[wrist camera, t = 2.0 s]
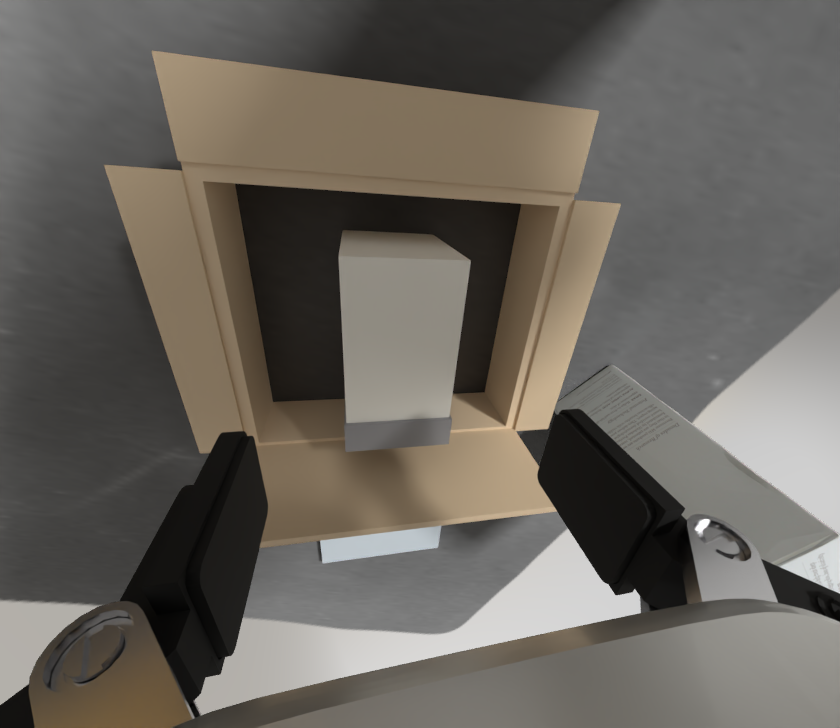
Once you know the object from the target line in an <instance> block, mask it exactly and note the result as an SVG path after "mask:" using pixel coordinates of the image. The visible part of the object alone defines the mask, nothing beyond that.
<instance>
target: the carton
mask: <svg viewBox="0 0 840 728" xmlns="http://www.w3.org/2000/svg"><path fill="white" fill-rule="evenodd" d="M152 55H153V59H154V63H155V67H156V72H157V76H158V80H159V84H160V88H161V92H162V97H163V101H164V105H165V109H166V113H167V117H168V122H169V126H170V130H171V134H172V138H173V142H174V147H175V151H176V155H177V159H178V161H180V162H181V166H182V170H183V171H181V170H168V169H155V168H142V167H128V166H115V165H104V167H105V170H106V173H107V176H108V179H109V182H110V185H111V188H112V191H113V194H114V197H115V200H116V203H117V206H118V209H119V212H120V215H121V218H122V221H123V224H124V227H125V230H126V233H127V236H128V239H129V242H130V245H131V248H132V251H133V254H134V257H135V260H136V263H137V266H138V269H139V272H140V275H141V278H142V281H143V284H144V287H145V290H146V293H147V296H148V299H149V302H150V305H151V308H152V311H153V314H154V317H155V320H156V323H157V326H158V329H159V332H160V335H161V338H162V341H163V344H164V347H165V350H166V353H167V356H168V359H169V362H170V365H171V368H172V371H173V374H174V377H175V380H176V383H177V386H178V389H179V392H180V395H181V398H182V401H183V404H184V407H185V410H186V413H187V416H188V419H189V422H190V425H191V428H192V431H193V434H194V437H195V440H196V443H197V446H198V449H199V452H200V454H201V453H210V452H211V450H212V448H213V446H214V444H215V442H216V440H217V439H218V437H219V435H220V434H221V433H222V432H236V431H245V432H246V433H247V436H253V437H254V440H255V444H256V449H257V454H258V458H259V463H260V468H261V472H262V477H263V482H264V487H265V491H266V496H267V501H268V514H267V519H266V523H265V527H264V531H263V535H262V539H261V543H260V548H265V547H273V546H281V545H289V544H297V543H305V542H313V541H321V540H329V539H337V538H345V537H354V536H362V535H370V534H378V533H386V532H394V531H402V530H410V529H418V528H426V527H434V526H442V525H450V524H459V523H467V522H475V521H483V520H491V519H499V518H507V517H515V516H523V515H531V514H539V513H547V512H556V511H557V510H556V509H555V507H554V506H553V504H552V503H551V501H550V499H549V498H548V496H547V495H546V493H545V492H544V490H543V489H542V487H541V486H540V484H539V482H538V477H537V474H538V470H539V466H538V464H537V463H536V461H535V460H534V458H533V457H532V455H531V454H530V452H529V451H528V449H527V448H526V446H525V445H524V443H523V441H522V440H521V438H520V437H519V435H518V434H517V432H516V431H526V430H540V429H548V428H549V424H550V421H551V418H552V415H553V412H554V409H555V406H556V403H557V400H558V397H559V394H560V391H561V387H562V384H563V381H564V378H565V375H566V372H567V369H568V366H569V363H570V360H571V357H572V354H573V350H574V347H575V344H576V341H577V338H578V335H579V332H580V329H581V326H582V323H583V320H584V317H585V313H586V310H587V307H588V304H589V301H590V298H591V295H592V292H593V289H594V286H595V283H596V279H597V276H598V273H599V270H600V267H601V264H602V261H603V258H604V255H605V252H606V249H607V246H608V242H609V239H610V236H611V233H612V230H613V227H614V224H615V221H616V218H617V215H618V212H619V209H620V205H621V204H618V203H606V202H592V201H579V200H573V199H574V195H575V193H578V190H579V186H580V182H581V179H582V175H583V171H584V167H585V163H586V160H587V156H588V152H589V148H590V144H591V141H592V137H593V133H594V129H595V125H596V122H597V118H598V114H599V111H595V110H588V109H580V108H573V107H566V106H558V105H551V104H543V103H536V102H529V101H521V100H514V99H506V98H499V97H492V96H484V95H477V94H469V93H462V92H454V91H447V90H440V89H432V88H425V87H417V86H410V85H403V84H395V83H388V82H380V81H373V80H366V79H358V78H351V77H343V76H336V75H329V74H321V73H314V72H306V71H299V70H292V69H284V68H277V67H269V66H262V65H254V64H247V63H240V62H232V61H225V60H217V59H210V58H203V57H195V56H188V55H180V54H173V53H166V52H158V51H152ZM235 183H236V184H250V185H264V186H278V187H292V188H306V189H320V190H335V191H349V192H363V193H377V194H391V195H405V196H419V197H434V198H448V199H462V200H476V201H490V202H504V203H518V204H521V207H520V212H519V218H518V223H517V228H516V233H515V238H514V243H513V248H512V254H511V259H510V264H509V269H508V274H507V279H506V285H505V290H504V295H503V300H502V305H501V310H500V315H499V321H498V326H497V331H496V336H495V341H494V346H493V352H492V357H491V362H490V367H489V372H488V377H487V382H486V388H485V392H479V393H457V394H452V401H451V408H450V415H451V418H452V425H451V432H450V439H449V444H445V445H432V446H418V447H405V448H392V449H378V450H365V451H352V452H346V451H345V432H344V414H345V399H326V400H304V401H283V402H273V399H272V393H271V387H270V381H269V376H268V370H267V364H266V359H265V353H264V347H263V341H262V336H261V330H260V324H259V318H258V313H257V307H256V301H255V296H254V290H253V284H252V278H251V273H250V267H249V261H248V256H247V250H246V244H245V238H244V233H243V227H242V221H241V215H240V210H239V204H238V198H237V193H236V187H235Z"/></svg>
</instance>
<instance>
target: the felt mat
mask: <svg viewBox="0 0 840 728" xmlns="http://www.w3.org/2000/svg"><path fill="white" fill-rule="evenodd" d="M440 531H441V526H434V527H426V528H418V529H410V530H402V531H394V532H386V533H378V534H370V535H362V536H354V537H345V538H337V539H329V540H321V541H320V545H321V553H322V561H323V563H328V562H336V561H343V560H350V559H358V558H365V557H372V556H380V555H387V554H394V553H402V552H409V551H416V550H424V549H431V548H438V544H439V537H440Z"/></svg>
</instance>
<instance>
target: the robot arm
mask: <svg viewBox="0 0 840 728" xmlns="http://www.w3.org/2000/svg"><path fill="white" fill-rule="evenodd" d="M537 477H538V482H539V484H540V486H541V487H542V489H543V490H544V492H545V493H546V495H547V496H548V498H549V499H550V501H551V503H552V504H553V506H554V507H555V509H556V510H557V512H558V513H559V515H560V516H561V518H562V520H563V521H564V523H565V524H566V526H567V527H568V529H569V530H570V532H571V533H572V535H573V536H574V538H575V540H576V541H577V543H578V544H579V546H580V547H581V549H582V550H583V552H584V553H585V555H586V557H587V558H588V559H589V561H590V563H591V564H592V566H593V567H594V569H595V570H596V572H597V574H598V575H599V577H600V578H601V579H602V580H603V581H604V582H605V583H607V584H609V586H610V587H611V589H612V590H613V592H614V593H615V595H620V594H625V593H630V592H633V590H634V589H636V591H637V592H638V594H639V595H640V601H641V613H640V614H635V615H630V616H626V617H621V618H616V619H611V620H607V621H602V622H597V623H592V624H588V625H583V626H578V627H574V628H568V629H564V630H559V631H554V632H550V633H546V634H540V635H536V636H531V637H526V638H522V639H517V640H512V641H508V642H504V643H498V644H494V645H489V646H485V647H480V648H475V649H471V650H466V651H461V652H457V653H452V654H448V655H443V656H439V657H434V658H430V659H425V660H421V661H416V662H412V663H407V664H402V665H398V666H393V667H389V668H385V669H380V670H375V671H371V672H367V673H362V674H357V675H353V676H348V677H344V678H339V679H335V680H331V681H327V682H323V683H319V684H314V685H310V686H306V687H302V688H298V689H294V690H290V691H285V692H281V693H277V694H273V695H269V696H265V697H260V698H256V699H253V700H249V701H246V702H243V703H240V704H236V705H233V706H230V707H226V708H222V709H219V710H216V711H212V712H210V713H207V714H204V715H201V713H200V711H199V708H198V707H197V704H196V702H195V699H196V698H197V697H198V696H199V694H201V690H202V687H203V684H204V680H205V677H209V676H214V675H219V674H221V670H222V667H223V663H224V659H225V657H227V656H231V655H232V654H233V652H234V650H235V646H236V642H237V639H238V634H239V630H240V626H241V622H242V618H243V614H244V610H245V606H246V601H247V597H248V593H249V589H250V585H251V581H252V577H253V572H254V568H255V564H256V560H257V556H258V552H259V548H260V543H261V539H262V535H263V531H264V527H265V523H266V519H267V514H268V501H267V496H266V491H265V487H264V482H263V477H262V472H261V468H260V463H259V458H258V454H257V449H256V444H255V440H254V437H253V436H247V433H246V432H245V431H236V432H222V433H221V434H220V435H219V437H218V439H217V440H216V442H215V444H214V446H213V448H212V450H211V452H210V454H209V456H208V458H207V460H206V462H205V464H204V466H203V468H202V470H201V472H200V474H199V476H198V478H197V480H196V482H195V483H194V485H187V486H185V487H183V488H182V489H181V491H180V492H179V494H178V495H177V497H176V499H175V501H174V503H173V504H172V506H171V508H170V510H169V512H168V514H167V515H166V517H165V519H164V521H163V523H162V525H161V526H160V528H159V530H158V532H157V534H156V536H155V537H154V539H153V541H152V543H151V545H150V546H149V548H148V550H147V552H146V554H145V556H144V557H143V559H142V561H141V563H140V565H139V567H138V568H137V570H136V572H135V574H134V576H133V578H132V579H131V581H130V583H129V585H128V587H127V589H126V590H125V592H124V594H123V596H122V598H121V599H120V601H117V602H111V603H108V604H105V605H102V606H99V607H97V608H95V609H93V610H91V611H90V612H88V613H86V614H84V615H82V616H80V617H79V618H78V619H76V620H75V621H74V622H73V623H71V624H70V625H68V626H67V627H66V628H65V629H64V630H62V632H61V633H59V634H58V635H57V636H56V637H55V638H54V639H53V640H52V641H51V642H50V644H49V645H48V646H47V647H46V649H45V650H44V651H43V653H42V654H41V656H40V657H39V658H38V660H37V662H36V664H35V666H34V668H33V671H32V673H31V675H30V680H29V685H27V686H26V687H24V688H23V689H22V690H20V691H19V692H18V693H16V694H15V695H14V696H12V697H11V698H10V699H8V700H7V701H6V702H4V703H3V704H1V705H0V728H840V594H839V593H837V592H835V591H833V590H830V589H828V588H826V587H824V586H821V585H819V584H817V583H815V582H812V581H810V580H808V579H806V578H803V577H801V576H799V575H797V574H794V573H792V572H790V571H788V570H785V569H783V568H781V567H779V566H776V565H774V564H772V563H770V562H767V561H765V560H763V559H761V557H760V555H759V553H758V551H757V549H756V548H755V546H754V544H753V543H752V542H751V541H750V540H749V539H748V538H747V537H746V536H745V535H744V534H742V533H741V532H740V531H739V530H738V529H736V528H735V527H733V526H731V525H730V524H728V523H727V522H725V521H722V520H720V519H718V518H716V517H713V516H709V515H706V514H694V515H691V516H690V517H689V518H688V519H687V520H686V519H685V518H684V517H683V516H682V513H683V512H684V510H685V508H684V507H683V506H682V505H681V504H680V503H679V502H678V501H677V500H676V499H675V498H674V497H673V496H672V495H671V494H670V493H669V492H668V491H667V490H666V489H664V488H663V487H662V486H661V485H660V484H659V483H658V482H657V481H656V480H655V479H654V478H653V477H652V476H651V475H650V474H649V473H648V472H647V471H646V470H645V469H643V468H642V467H641V466H640V465H639V464H638V463H637V462H636V461H635V460H634V459H633V458H632V457H631V456H630V455H629V454H628V453H627V452H626V451H625V450H623V449H622V448H621V447H620V446H619V445H618V444H617V443H616V442H615V441H614V440H613V439H612V438H611V437H610V436H609V435H608V434H607V433H606V432H605V431H603V430H602V429H601V428H600V427H599V426H598V425H597V424H596V423H595V422H594V421H593V420H592V419H591V418H590V417H589V416H588V415H587V414H586V413H585V412H584V411H582V410H581V409H565V410H561V411H560V412H559V414H558V415H556V416H555V418H554V422H553V425H552V428H551V431H550V434H549V438H548V441H547V444H546V447H545V451H544V454H543V457H542V460H541V463H540V467H539V470H538V474H537Z"/></svg>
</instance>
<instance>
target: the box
mask: <svg viewBox="0 0 840 728" xmlns="http://www.w3.org/2000/svg"><path fill="white" fill-rule="evenodd" d="M470 264H471V260H469V259H468V258H466V257H465V256H463V255H462V254H461V253H459V252H458V251H456V250H455V249H453V248H452V247H450V246H449V245H448V244H446V243H445V242H443V241H442V240H440V239H439V238H437V237H436V236H434V235H433V234H416V233H396V232H375V231H355V230H343V231H342V237H341V244H340V250H339V277H340V298H341V319H342V340H343V361H344V382H345V414H344V432H345V451H346V452H352V451H365V450H378V449H392V448H405V447H418V446H432V445H445V444H449V439H450V432H451V425H452V418H451V415H450V408H451V401H452V394H453V387H454V379H455V372H456V365H457V358H458V351H459V343H460V336H461V329H462V322H463V315H464V307H465V300H466V293H467V286H468V279H469V271H470Z"/></svg>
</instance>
